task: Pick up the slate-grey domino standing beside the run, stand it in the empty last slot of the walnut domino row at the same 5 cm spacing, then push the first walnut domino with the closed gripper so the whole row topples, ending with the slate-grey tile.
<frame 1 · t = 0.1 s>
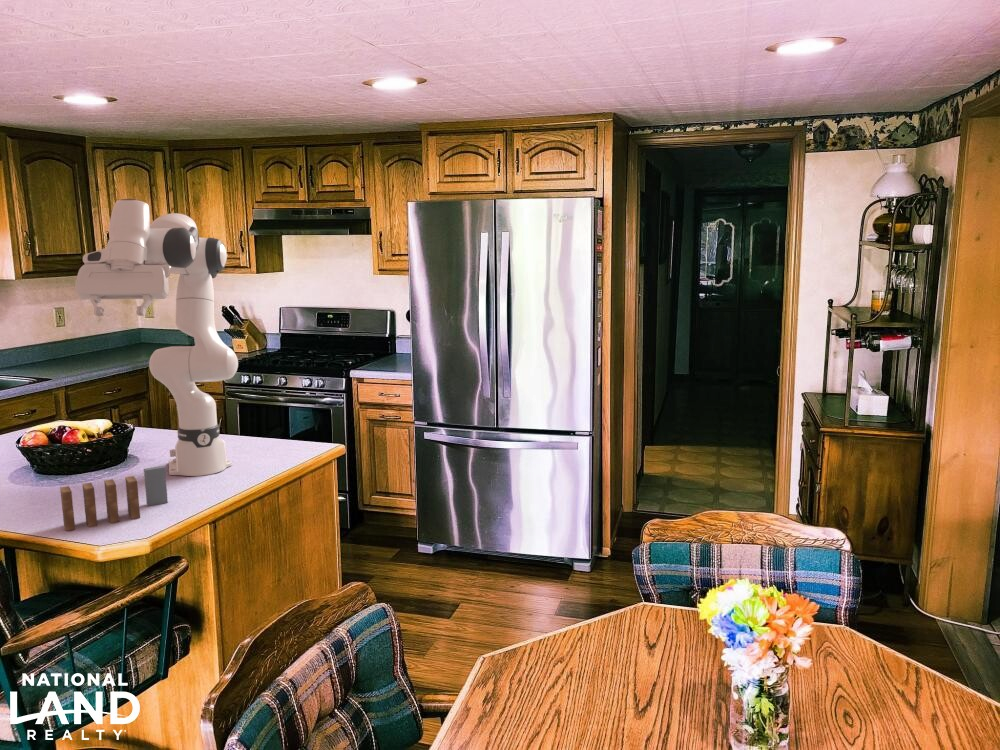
hand: (119, 315, 185), 54 cm above the kitchen island, tool tilted 30°, fingers open, 8 cm apart
domino 3: (113, 519, 206), on the kitchen island
domino 2: (91, 523, 203), on the kitchen island
domino 1: (69, 527, 200), on the kitchen island
slate domino: (157, 503, 218), on the kitchen island
domino 4: (134, 515, 208), on the kitchen island
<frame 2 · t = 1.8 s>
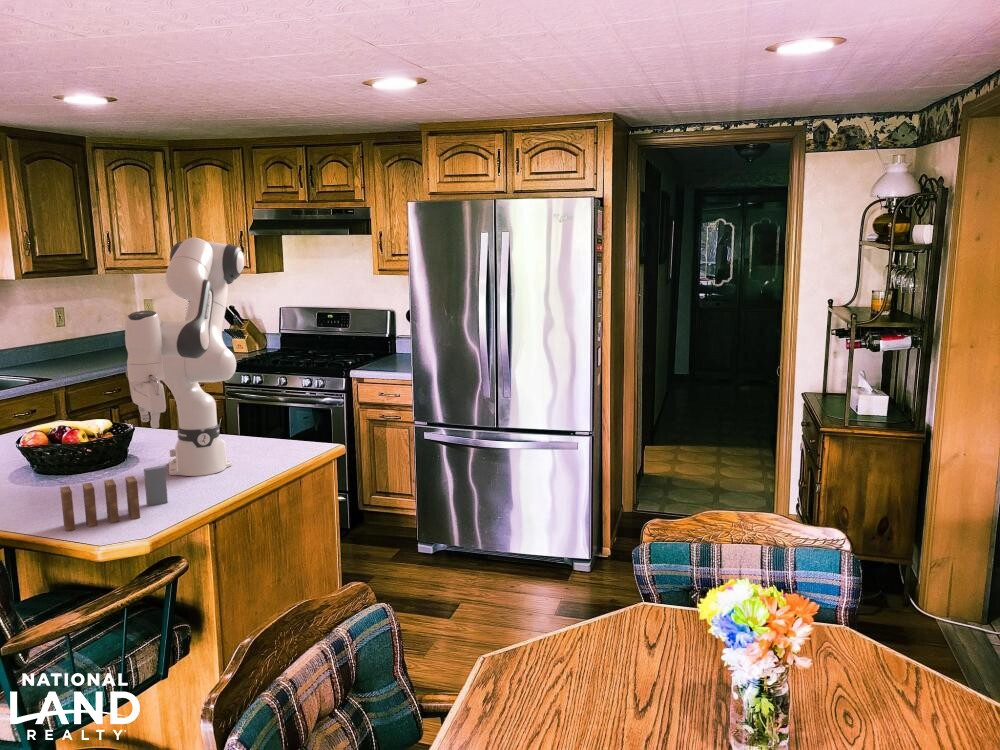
hand: (150, 424, 212), 23 cm above the kitchen island, tool pointing down, fingers open, 8 cm apart
nothing on the kitchen island moved.
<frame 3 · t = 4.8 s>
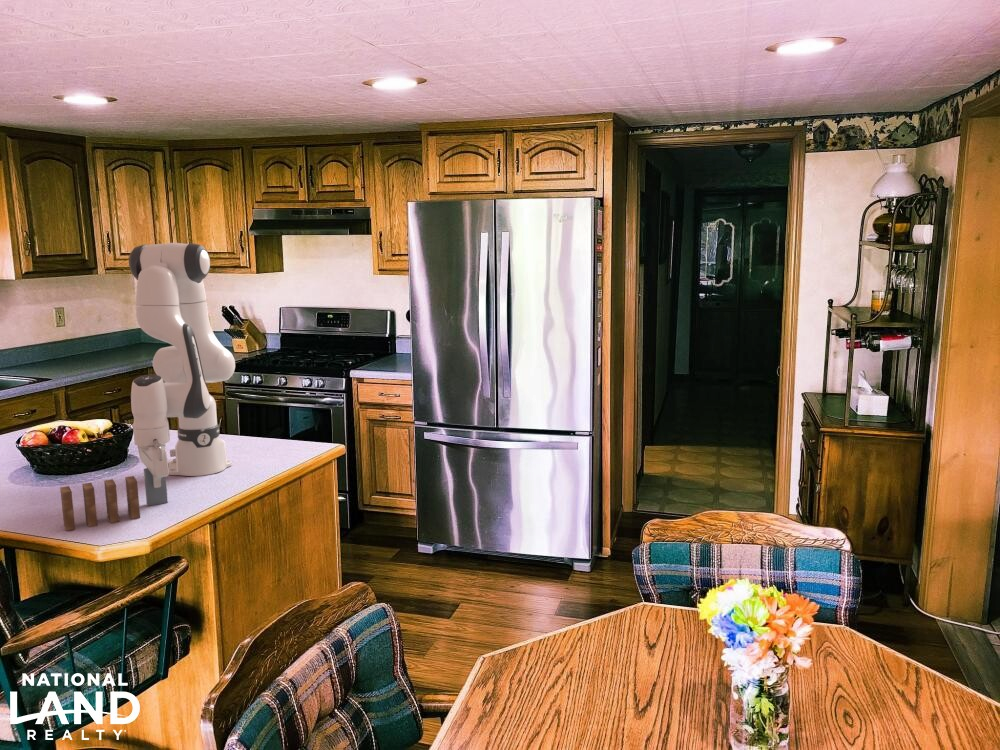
hand: (155, 485, 217), 5 cm above the kitchen island, tool pointing down, fingers closed on slate domino, 2 cm apart
slate domino: (157, 503, 218), on the kitchen island, touching gripper
everything else where it was.
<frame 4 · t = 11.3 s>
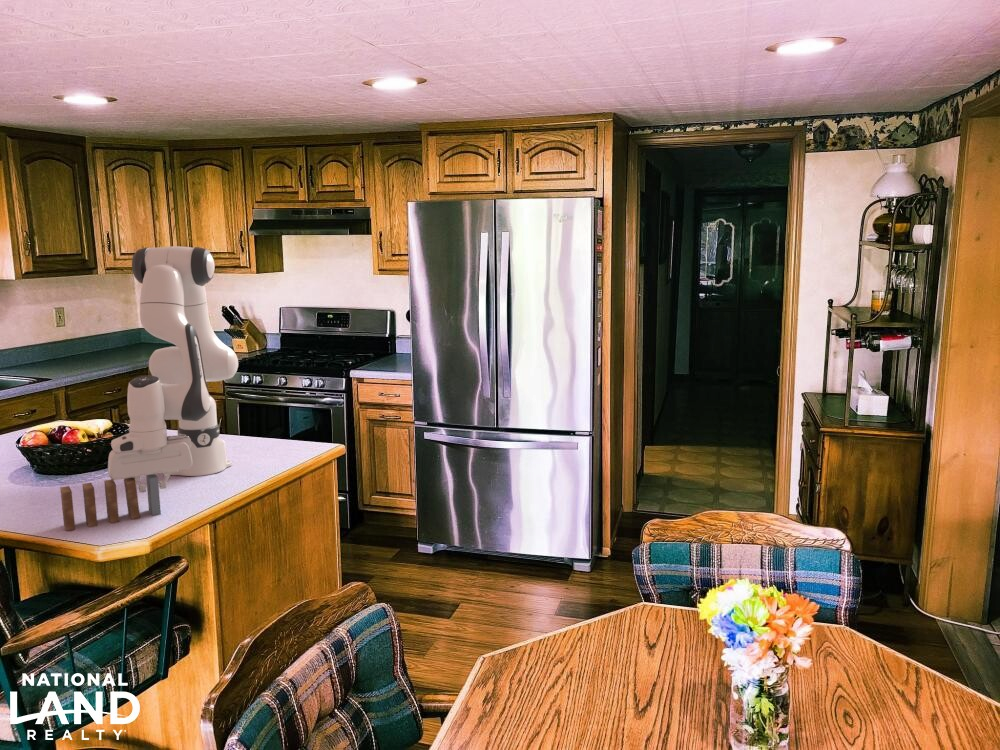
hand: (152, 489, 210), 6 cm above the kitchen island, tool pointing down, fingers open, 4 cm apart
slate domino: (154, 512, 211), on the kitchen island
domino 4: (134, 515, 208), on the kitchen island, touching gripper
everything else where it was.
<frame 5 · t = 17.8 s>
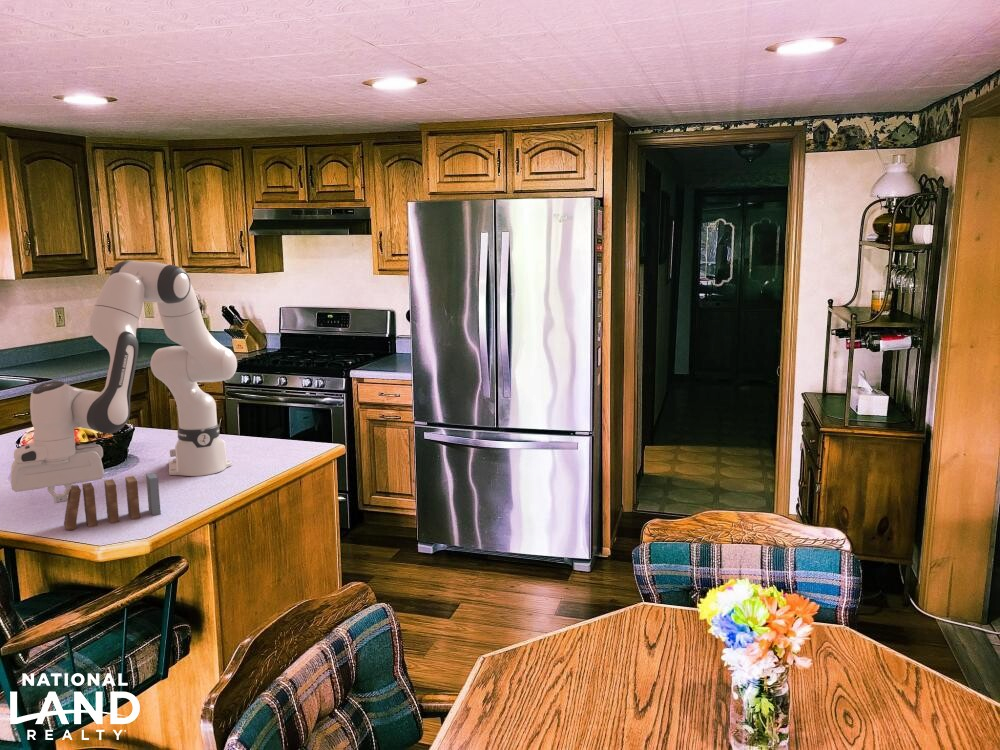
hand: (60, 501, 198), 7 cm above the kitchen island, tool pointing down, fingers closed
domino 1: (69, 526, 200), on the kitchen island, tilted 12°, touching gripper
domino 4: (134, 515, 208), on the kitchen island
everything else where it was.
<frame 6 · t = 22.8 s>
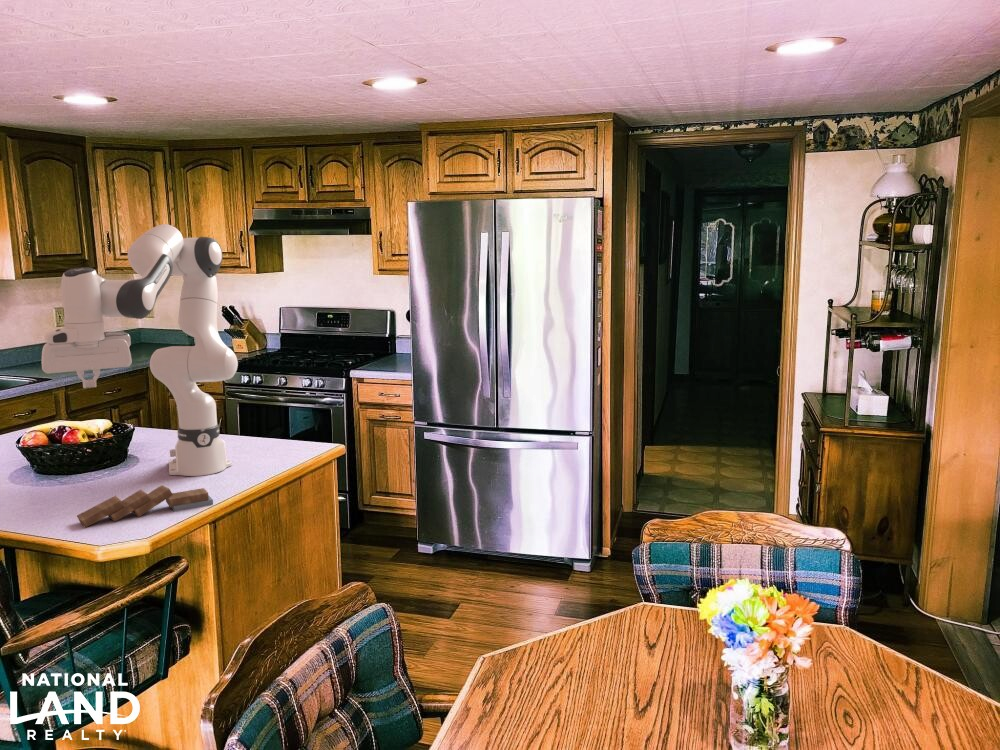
hand: (89, 387, 203), 34 cm above the kitchen island, tool pointing down, fingers closed
domino 3: (133, 511, 208), point 1 cm above the kitchen island, tilted 68°
domino 2: (109, 516, 205), point 1 cm above the kitchen island, tilted 68°
domino 1: (80, 521, 201), point 1 cm above the kitchen island, tilted 71°
slate domino: (172, 507, 214), on the kitchen island, tilted 90°, touching domino 4
domino 4: (167, 500, 213), point 2 cm above the kitchen island, tilted 90°, touching slate domino
at the end: slate domino tilted 90°; slate domino inside the target area (3.1 cm from its centre), on the kitchen island; domino 4 tilted 90° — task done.
